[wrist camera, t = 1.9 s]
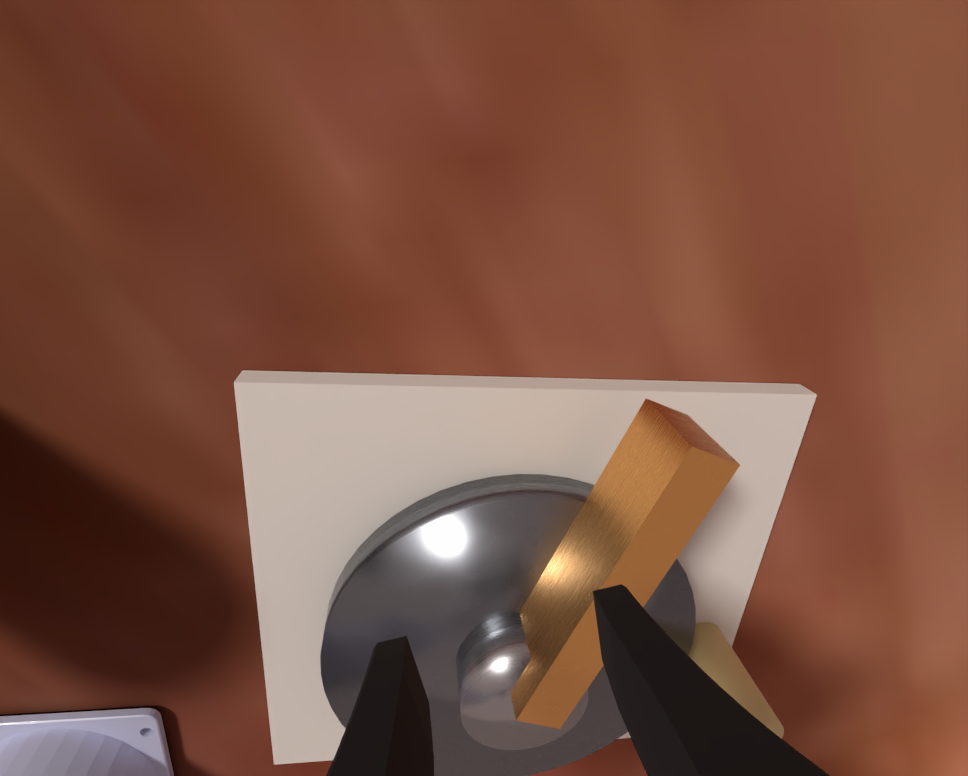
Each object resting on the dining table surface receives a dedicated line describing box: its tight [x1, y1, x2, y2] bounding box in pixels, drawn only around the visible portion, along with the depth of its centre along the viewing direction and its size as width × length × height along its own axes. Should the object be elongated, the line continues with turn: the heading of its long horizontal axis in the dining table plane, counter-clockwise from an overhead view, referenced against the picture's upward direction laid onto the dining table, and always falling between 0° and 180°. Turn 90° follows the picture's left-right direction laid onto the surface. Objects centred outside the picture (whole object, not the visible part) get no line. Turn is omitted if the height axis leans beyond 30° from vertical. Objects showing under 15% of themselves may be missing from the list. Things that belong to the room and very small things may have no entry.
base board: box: [234, 370, 817, 765], centre depth 21 cm, size 18×20×6 cm
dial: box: [320, 399, 740, 776], centre depth 19 cm, size 18×14×4 cm
